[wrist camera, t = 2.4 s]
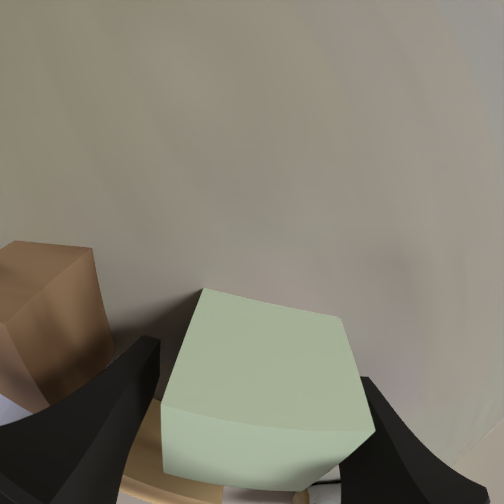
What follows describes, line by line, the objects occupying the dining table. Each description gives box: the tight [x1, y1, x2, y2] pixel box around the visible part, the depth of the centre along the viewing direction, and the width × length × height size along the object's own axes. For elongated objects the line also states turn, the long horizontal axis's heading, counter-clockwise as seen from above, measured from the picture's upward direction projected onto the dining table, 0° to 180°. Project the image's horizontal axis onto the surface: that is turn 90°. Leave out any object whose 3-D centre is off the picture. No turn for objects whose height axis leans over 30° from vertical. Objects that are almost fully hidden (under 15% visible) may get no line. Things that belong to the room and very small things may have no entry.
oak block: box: [119, 398, 224, 504], centre depth 11 cm, size 5×5×5 cm
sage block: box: [161, 288, 375, 491], centre depth 8 cm, size 5×5×5 cm
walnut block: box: [0, 241, 116, 414], centre depth 8 cm, size 5×5×5 cm
